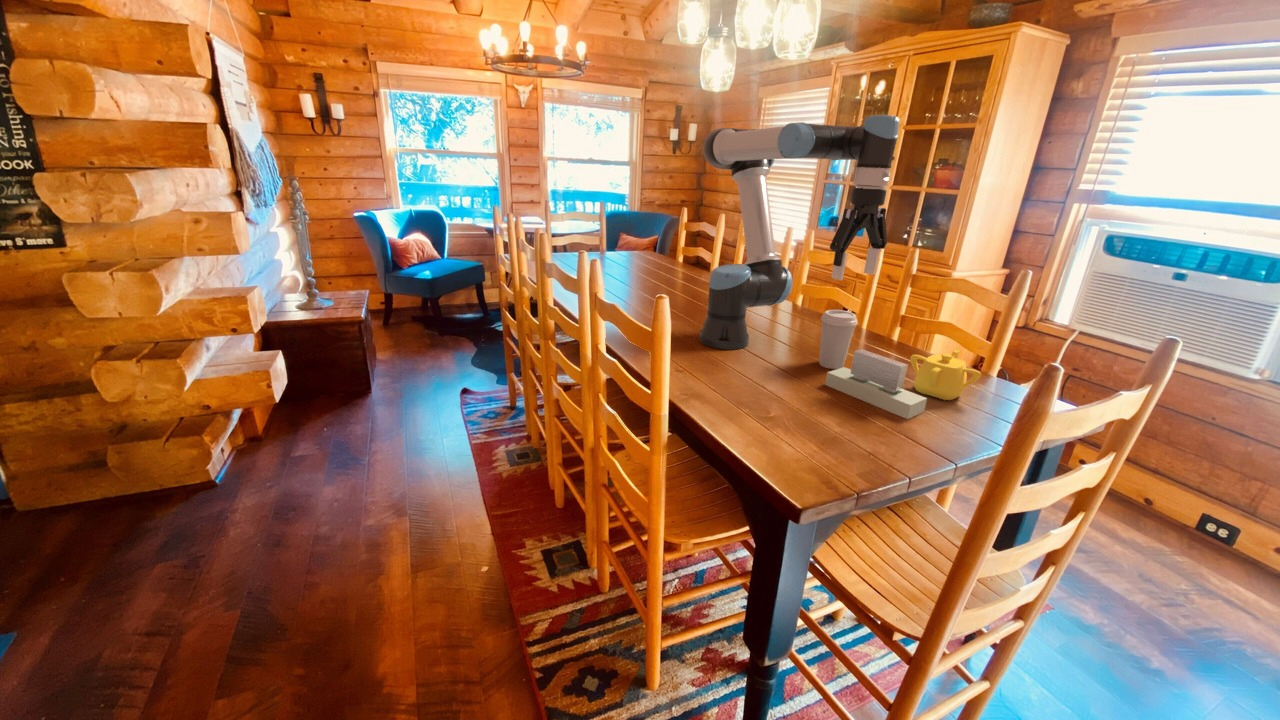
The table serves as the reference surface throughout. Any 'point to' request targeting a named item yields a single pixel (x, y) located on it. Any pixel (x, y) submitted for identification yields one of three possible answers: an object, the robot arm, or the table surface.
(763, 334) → the table surface
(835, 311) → the coffee cup
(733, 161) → the robot arm
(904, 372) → the grey piece
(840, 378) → the rail
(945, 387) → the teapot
